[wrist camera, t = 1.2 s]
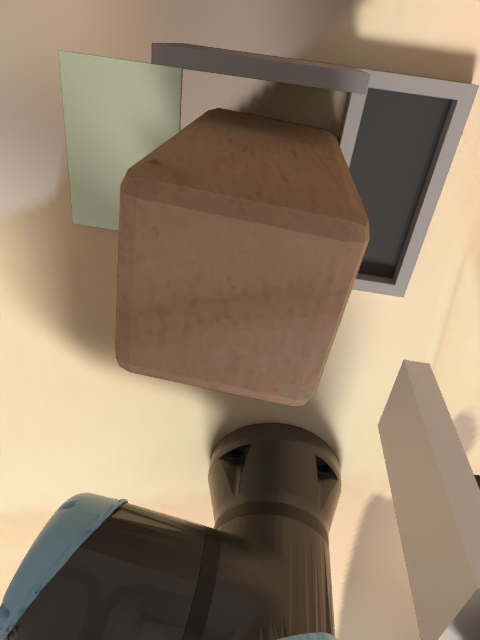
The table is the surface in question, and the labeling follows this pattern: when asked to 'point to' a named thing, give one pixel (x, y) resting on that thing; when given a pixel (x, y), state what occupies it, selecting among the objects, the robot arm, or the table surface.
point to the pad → (112, 126)
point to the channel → (261, 67)
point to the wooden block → (237, 256)
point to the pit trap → (400, 166)
